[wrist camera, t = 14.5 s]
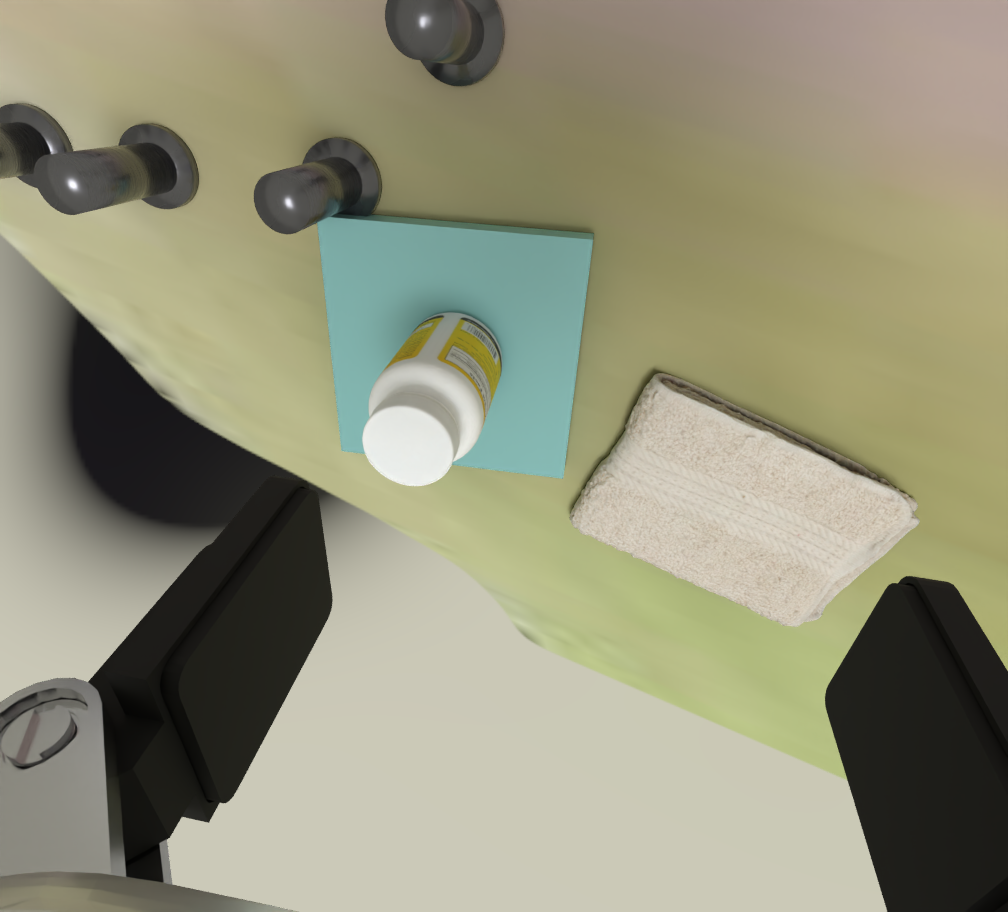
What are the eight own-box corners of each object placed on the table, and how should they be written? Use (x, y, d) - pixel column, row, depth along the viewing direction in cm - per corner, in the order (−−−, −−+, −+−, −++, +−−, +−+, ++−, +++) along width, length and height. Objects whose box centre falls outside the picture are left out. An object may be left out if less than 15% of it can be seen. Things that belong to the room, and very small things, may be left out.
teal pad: (328, 210, 32) (316, 216, 31) (593, 233, 31) (593, 239, 29) (350, 439, 39) (341, 450, 38) (564, 465, 38) (563, 478, 37)
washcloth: (796, 610, 42) (809, 645, 39) (562, 510, 40) (559, 540, 38) (924, 485, 36) (949, 516, 33) (652, 361, 34) (656, 384, 31)
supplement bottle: (408, 393, 35) (346, 488, 27) (410, 303, 32) (341, 378, 24) (499, 408, 35) (465, 509, 27) (509, 318, 32) (474, 400, 24)
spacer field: (-132, -250, 25) (-362, -354, 19) (516, -244, 22) (482, -363, 16) (21, 194, 34) (-103, 217, 28) (495, 235, 31) (469, 270, 25)
